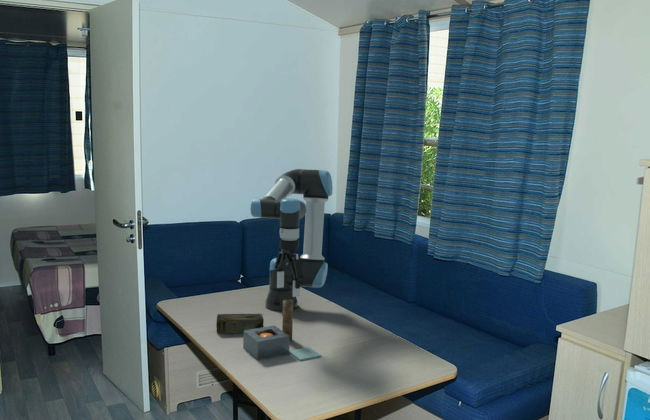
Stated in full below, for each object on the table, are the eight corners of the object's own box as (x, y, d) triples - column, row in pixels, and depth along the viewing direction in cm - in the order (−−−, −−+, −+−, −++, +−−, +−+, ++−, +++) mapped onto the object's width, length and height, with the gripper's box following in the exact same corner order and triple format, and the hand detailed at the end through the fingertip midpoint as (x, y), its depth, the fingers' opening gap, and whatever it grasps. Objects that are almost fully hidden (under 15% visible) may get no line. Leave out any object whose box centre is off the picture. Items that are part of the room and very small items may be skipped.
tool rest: (309, 348, 230) (309, 347, 229) (321, 356, 222) (321, 355, 222) (288, 352, 225) (288, 350, 225) (300, 361, 217) (300, 359, 217)
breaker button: (269, 344, 229) (269, 332, 228) (275, 349, 225) (275, 336, 224) (257, 346, 226) (257, 334, 226) (262, 351, 222) (263, 338, 221)
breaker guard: (274, 342, 234) (274, 325, 233) (289, 354, 223) (289, 336, 222) (243, 348, 228) (243, 330, 227) (257, 360, 217) (257, 341, 216)
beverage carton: (264, 333, 245) (264, 317, 244) (216, 335, 242) (216, 319, 241) (262, 326, 253) (262, 311, 252) (216, 328, 249) (216, 313, 248)
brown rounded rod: (289, 337, 241) (290, 299, 238) (293, 340, 237) (294, 301, 235) (280, 338, 239) (281, 300, 236) (284, 342, 235) (285, 303, 233)
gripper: (266, 233, 241) (265, 285, 244) (295, 245, 219) (294, 301, 222) (283, 232, 244) (282, 283, 247) (313, 243, 223) (311, 298, 226)
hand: (288, 291), depth 235 cm, fingers open, 13 cm apart
